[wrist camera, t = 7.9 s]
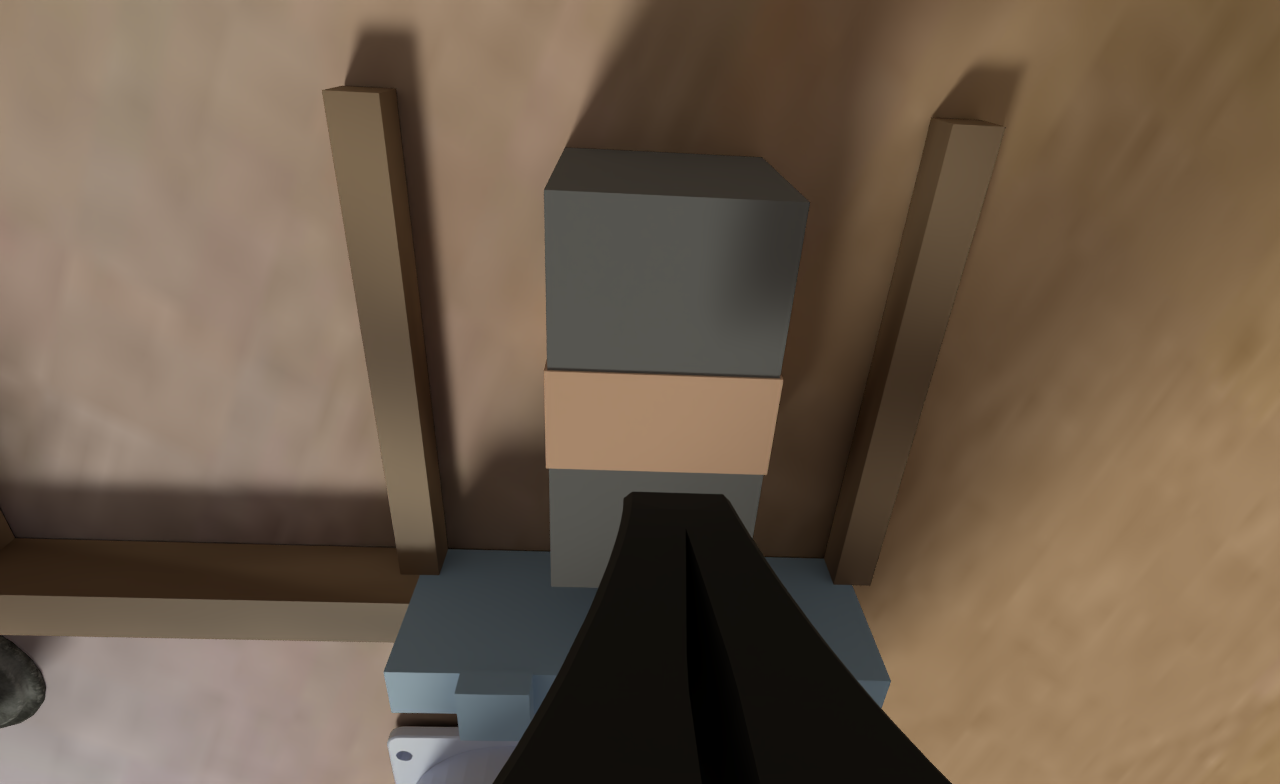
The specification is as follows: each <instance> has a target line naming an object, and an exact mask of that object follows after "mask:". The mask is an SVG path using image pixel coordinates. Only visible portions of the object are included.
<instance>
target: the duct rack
mask: <svg viewBox="0 0 1280 784" xmlns="http://www.w3.org/2000/svg"><path fill="white" fill-rule="evenodd" d="M322 94H323V100H324V106H325V113H326V119H327V125H328V131H329V137H330V143H331V149H332V156H333V162H334V168H335V174H336V180H337V186H338V193H339V199H340V205H341V211H342V217H343V223H344V229H345V236H346V242H347V248H348V254H349V260H350V266H351V272H352V279H353V285H354V291H355V297H356V303H357V309H358V315H359V322H360V328H361V334H362V340H363V346H364V352H365V359H366V365H367V371H368V377H369V383H370V389H371V395H372V402H373V408H374V414H375V420H376V426H377V432H378V438H379V445H380V451H381V457H382V463H383V469H384V475H385V481H386V488H387V494H388V500H389V506H390V512H391V518H392V525H393V531H394V537H395V543H396V548H384V547H345V546H305V545H266V544H226V543H187V542H147V541H108V540H68V539H29V538H15V537H14V535H13V533H12V531H11V529H10V528H9V526H8V524H7V522H6V520H5V518H4V516H3V514H2V512H1V510H0V635H32V636H83V637H135V638H187V639H238V640H290V641H342V642H393V643H394V646H393V648H392V651H391V654H390V657H389V659H388V662H387V665H386V667H385V670H384V676H385V681H386V686H387V692H388V697H389V702H390V707H391V712H392V713H449V714H457V719H458V727H459V735H460V741H520V739H521V737H522V736H523V734H524V732H525V731H526V729H527V727H528V726H529V724H530V722H531V721H532V719H533V717H534V715H535V714H536V712H537V710H538V709H539V707H540V705H541V703H542V702H543V700H544V698H545V696H546V694H547V693H548V691H549V689H550V687H551V685H552V684H553V682H554V680H555V678H556V676H557V674H558V672H559V671H560V669H561V667H562V665H563V663H564V661H565V659H566V656H567V654H568V652H569V650H570V648H571V646H572V644H573V642H574V640H575V638H576V636H577V634H578V632H579V630H580V628H581V626H582V624H583V622H584V620H585V618H586V616H587V613H588V611H589V609H590V607H591V604H592V602H593V600H594V597H595V595H596V592H597V590H598V588H584V587H551V556H550V552H542V551H503V550H463V549H448V544H447V535H446V526H445V518H444V509H443V500H442V491H441V483H440V474H439V465H438V456H437V447H436V439H435V430H434V421H433V412H432V404H431V395H430V386H429V377H428V368H427V360H426V351H425V342H424V333H423V324H422V316H421V307H420V298H419V289H418V281H417V272H416V263H415V254H414V245H413V237H412V228H411V219H410V210H409V202H408V193H407V184H406V175H405V166H404V158H403V149H402V140H401V131H400V123H399V114H398V105H397V96H396V89H393V88H374V87H356V86H339V87H335V88H330V89H325V90H322ZM1005 128H1006V127H1004V126H1000V125H997V124H993V123H989V122H985V121H981V120H966V119H948V118H931V121H930V125H929V130H928V134H927V138H926V142H925V146H924V150H923V154H922V158H921V162H920V167H919V171H918V175H917V179H916V183H915V187H914V191H913V195H912V199H911V203H910V208H909V212H908V216H907V220H906V224H905V228H904V232H903V236H902V240H901V244H900V249H899V253H898V257H897V261H896V265H895V269H894V273H893V277H892V281H891V286H890V290H889V294H888V298H887V302H886V306H885V310H884V314H883V318H882V322H881V327H880V331H879V335H878V339H877V343H876V347H875V351H874V355H873V359H872V363H871V368H870V372H869V376H868V380H867V384H866V388H865V392H864V396H863V400H862V405H861V409H860V413H859V417H858V421H857V425H856V429H855V433H854V437H853V441H852V446H851V450H850V454H849V458H848V462H847V466H846V470H845V474H844V478H843V482H842V487H841V491H840V495H839V499H838V503H837V507H836V511H835V515H834V519H833V524H832V528H831V532H830V536H829V540H828V544H827V548H826V552H825V556H824V559H819V558H780V557H765V559H766V560H767V562H768V563H769V565H770V566H771V568H772V569H773V571H774V572H775V574H776V575H777V576H778V578H779V579H780V581H781V582H782V584H783V585H784V586H785V588H786V589H787V591H788V592H789V593H790V595H791V596H792V597H793V599H794V600H795V601H796V603H797V604H798V606H799V607H800V608H801V610H802V611H803V612H804V614H805V615H806V617H807V618H808V619H809V621H810V622H811V623H812V625H813V626H814V627H815V629H816V630H817V631H818V632H819V634H820V635H821V636H822V638H823V639H824V640H825V641H826V643H827V644H828V645H829V647H830V648H831V649H832V650H833V652H834V653H835V654H836V655H837V657H838V658H839V659H840V660H841V661H842V663H843V664H844V665H845V666H846V668H847V669H848V670H849V671H850V672H851V674H852V675H853V676H854V677H855V679H856V680H857V681H858V682H859V683H860V685H861V686H862V687H863V688H864V689H865V690H866V692H867V693H868V694H869V695H870V696H871V697H872V699H873V700H874V701H875V702H876V703H877V704H878V705H879V707H880V708H882V705H883V702H884V699H885V697H886V694H887V691H888V688H889V685H890V682H891V680H890V678H889V675H888V673H887V670H886V668H885V665H884V663H883V660H882V658H881V655H880V653H879V650H878V648H877V645H876V643H875V641H874V638H873V636H872V633H871V631H870V628H869V626H868V623H867V621H866V618H865V616H864V613H863V611H862V609H861V606H860V604H859V601H858V599H857V596H856V594H855V591H854V589H853V586H852V585H869V586H870V585H871V581H872V578H873V574H874V571H875V568H876V564H877V561H878V558H879V554H880V551H881V547H882V544H883V541H884V537H885V534H886V530H887V527H888V524H889V520H890V517H891V514H892V510H893V507H894V503H895V500H896V497H897V493H898V490H899V486H900V483H901V480H902V476H903V473H904V470H905V466H906V463H907V459H908V456H909V453H910V449H911V446H912V442H913V439H914V436H915V432H916V429H917V425H918V422H919V419H920V415H921V412H922V409H923V405H924V402H925V398H926V395H927V392H928V388H929V385H930V381H931V378H932V375H933V371H934V368H935V365H936V361H937V358H938V354H939V351H940V348H941V344H942V341H943V337H944V334H945V331H946V327H947V324H948V321H949V317H950V314H951V310H952V307H953V304H954V300H955V297H956V293H957V290H958V287H959V283H960V280H961V277H962V273H963V270H964V266H965V263H966V260H967V256H968V253H969V249H970V246H971V243H972V239H973V236H974V233H975V229H976V226H977V222H978V219H979V216H980V212H981V209H982V205H983V202H984V199H985V195H986V192H987V189H988V185H989V182H990V178H991V175H992V172H993V168H994V165H995V161H996V158H997V155H998V151H999V148H1000V145H1001V141H1002V138H1003V134H1004V131H1005Z"/></svg>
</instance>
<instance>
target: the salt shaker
mask: <svg viewBox="0 0 1280 784" xmlns="http://www.w3.org/2000/svg"><path fill="white" fill-rule="evenodd" d="M45 689H46V687H45V684H44V681H43V678H42V675H41V673H40V671H39V670H38V669H37V667H36V666H35V664H34V663H33V662H32V660H31V659H30V658H29V657H28V656H27V655H26V654H25V653H24V652H22V651H21V650H20V649H19V648H18V647H17V646H16V645H14V644H13V643H12V642H10V641H9V640H7V639H5V638H4V637H2V636H0V728H4V727H7V726H11V725H15V724H19V723H21V722H23V721H25V720H26V719H28V718H30V717H31V716H33V715H34V714H35V713H36V712H37V710H38V709H39V707H40V706H41V704H42V703H43V702H44V697H45Z"/></svg>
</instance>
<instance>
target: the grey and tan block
mask: <svg viewBox="0 0 1280 784" xmlns="http://www.w3.org/2000/svg"><path fill="white" fill-rule="evenodd" d="M809 205H810V202H809V201H808V200H807V199H806V198H805V197H804V196H803V195H801V194H800V193H799V192H798V191H797V190H796V189H795V188H794V187H793V186H792V185H791V184H790V183H789V182H788V181H787V180H786V179H784V178H783V177H782V176H781V175H780V174H779V173H778V172H777V171H776V170H775V169H774V168H773V167H772V166H771V165H770V164H769V163H767V162H766V161H765V160H764V159H763V158H762V157H745V156H725V155H705V154H685V153H665V152H645V151H625V150H605V149H586V148H566V147H565V149H564V151H563V153H562V155H561V157H560V159H559V161H558V163H557V165H556V167H555V169H554V171H553V173H552V175H551V177H550V179H549V181H548V183H547V185H546V187H545V189H544V217H545V273H546V330H547V360H546V365H545V369H544V398H545V447H546V468H549V499H550V556H551V587H584V588H598V587H599V585H600V582H601V580H602V577H603V575H604V572H605V570H606V567H607V565H608V562H609V559H610V556H611V553H612V550H613V547H614V544H615V541H616V538H617V534H618V530H619V526H620V522H621V517H622V512H623V498H624V497H626V496H627V495H628V494H630V493H631V492H665V493H699V494H724V496H725V497H726V498H727V499H728V500H729V501H730V502H731V504H732V506H733V507H734V509H735V511H736V513H737V514H738V516H739V518H740V519H741V521H742V523H743V524H744V526H745V528H746V529H747V531H748V532H749V534H750V536H751V537H752V539H753V533H754V528H755V522H756V516H757V510H758V504H759V498H760V492H761V486H762V481H763V475H767V471H768V466H769V460H770V454H771V448H772V443H773V437H774V431H775V425H776V420H777V414H778V408H779V402H780V397H781V391H782V385H783V378H782V376H781V369H782V363H783V357H784V352H785V346H786V340H787V334H788V328H789V322H790V316H791V310H792V305H793V299H794V293H795V287H796V281H797V275H798V269H799V263H800V258H801V252H802V246H803V240H804V234H805V228H806V222H807V217H808V211H809Z"/></svg>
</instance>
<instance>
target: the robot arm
mask: <svg viewBox="0 0 1280 784" xmlns="http://www.w3.org/2000/svg"><path fill="white" fill-rule="evenodd" d="M387 746H388V751H389V755H390V760H391V765H392V770H393V774H394V779H395V784H952V783H951V782H950V781H949V780H948V779H947V778H946V777H945V776H944V775H943V774H942V773H941V772H940V771H939V770H938V769H937V768H936V767H935V766H934V765H933V764H932V763H931V762H930V761H929V760H928V759H927V758H926V757H925V756H924V755H923V753H922V752H921V751H920V750H919V749H918V748H917V747H916V746H915V745H914V744H913V743H912V742H911V741H910V740H909V738H908V737H907V736H906V735H905V734H904V733H903V732H902V731H901V730H900V729H899V728H898V727H897V726H896V725H895V723H894V722H893V721H892V720H891V719H890V718H889V717H888V716H887V714H886V713H885V712H884V711H883V710H882V709H881V708H880V707H879V705H878V704H877V703H876V702H875V701H874V700H873V699H872V697H871V696H870V695H869V694H868V693H867V692H866V690H865V689H864V688H863V687H862V686H861V685H860V683H859V682H858V681H857V680H856V679H855V677H854V676H853V675H852V674H851V672H850V671H849V670H848V669H847V668H846V666H845V665H844V664H843V663H842V661H841V660H840V659H839V658H838V657H837V655H836V654H835V653H834V652H833V650H832V649H831V648H830V647H829V645H828V644H827V643H826V641H825V640H824V639H823V638H822V636H821V635H820V634H819V632H818V631H817V630H816V629H815V627H814V626H813V625H812V623H811V622H810V621H809V619H808V618H807V617H806V615H805V614H804V612H803V611H802V610H801V608H800V607H799V606H798V604H797V603H796V601H795V600H794V599H793V597H792V596H791V595H790V593H789V592H788V591H787V589H786V588H785V586H784V585H783V584H782V582H781V581H780V579H779V578H778V576H777V575H776V574H775V572H774V571H773V569H772V568H771V566H770V565H769V563H768V562H767V560H766V559H765V557H764V556H763V554H762V553H761V551H760V550H759V548H758V547H757V545H756V543H755V542H754V540H753V539H752V537H751V536H750V534H749V532H748V531H747V529H746V528H745V526H744V524H743V523H742V521H741V519H740V518H739V516H738V514H737V513H736V511H735V509H734V507H733V506H732V504H731V502H730V501H729V500H728V499H727V498H726V497H725V496H724V494H699V493H665V492H631V493H630V494H628V495H627V496H626V497H624V498H623V512H622V517H621V522H620V526H619V530H618V534H617V538H616V541H615V544H614V547H613V550H612V553H611V556H610V559H609V562H608V565H607V567H606V570H605V572H604V575H603V577H602V580H601V582H600V585H599V587H598V590H597V592H596V595H595V597H594V600H593V602H592V604H591V607H590V609H589V611H588V613H587V616H586V618H585V620H584V622H583V624H582V626H581V628H580V630H579V632H578V634H577V636H576V638H575V640H574V642H573V644H572V646H571V648H570V650H569V652H568V654H567V656H566V659H565V661H564V663H563V665H562V667H561V669H560V671H559V672H558V674H557V676H556V678H555V680H554V682H553V684H552V685H551V687H550V689H549V691H548V693H547V694H546V696H545V698H544V700H543V702H542V703H541V705H540V707H539V709H538V710H537V712H536V714H535V716H534V717H533V719H532V721H531V722H530V724H529V726H528V727H527V729H526V731H525V732H524V734H523V736H522V737H521V739H520V741H460V735H459V727H420V726H402V727H398V728H395V729H393V730H392V731H391V733H390V736H389V739H388V743H387Z"/></svg>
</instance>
